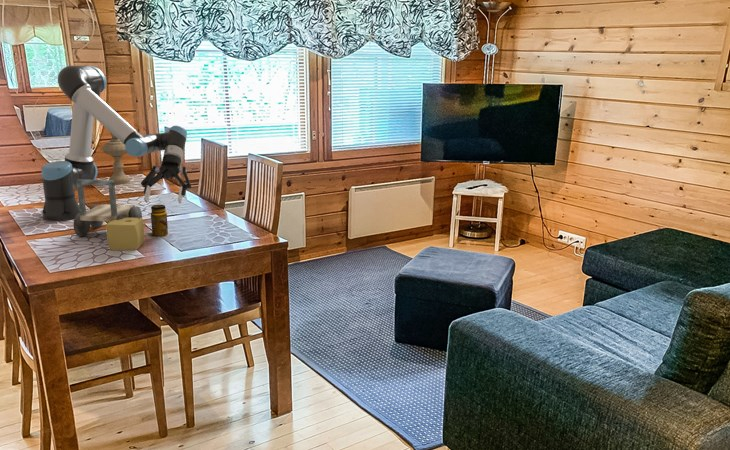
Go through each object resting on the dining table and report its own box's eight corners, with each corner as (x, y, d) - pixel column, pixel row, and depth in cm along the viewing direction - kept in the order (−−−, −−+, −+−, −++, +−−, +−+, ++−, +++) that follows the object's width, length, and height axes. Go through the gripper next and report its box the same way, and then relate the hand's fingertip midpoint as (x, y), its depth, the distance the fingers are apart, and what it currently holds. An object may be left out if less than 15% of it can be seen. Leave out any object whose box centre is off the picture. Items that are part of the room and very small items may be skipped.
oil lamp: (139, 182, 320) (133, 110, 309) (112, 186, 309) (105, 111, 298) (125, 178, 330) (119, 108, 319) (100, 182, 319) (92, 109, 308)
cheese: (117, 242, 219) (114, 216, 216) (146, 242, 220) (144, 217, 217) (107, 250, 209) (105, 224, 206) (138, 250, 210) (136, 224, 207)
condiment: (171, 235, 228) (169, 206, 225) (149, 239, 223) (146, 209, 220) (166, 231, 234) (164, 202, 231) (144, 234, 229) (142, 205, 226)
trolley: (75, 238, 221) (68, 180, 214) (100, 223, 241) (94, 170, 235) (121, 240, 221) (116, 182, 214) (142, 225, 241) (138, 171, 234)
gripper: (140, 152, 239) (128, 195, 229) (199, 153, 239) (190, 197, 229) (145, 162, 246) (135, 205, 235) (203, 164, 246) (195, 206, 235)
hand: (162, 201), depth 232 cm, fingers open, 13 cm apart
